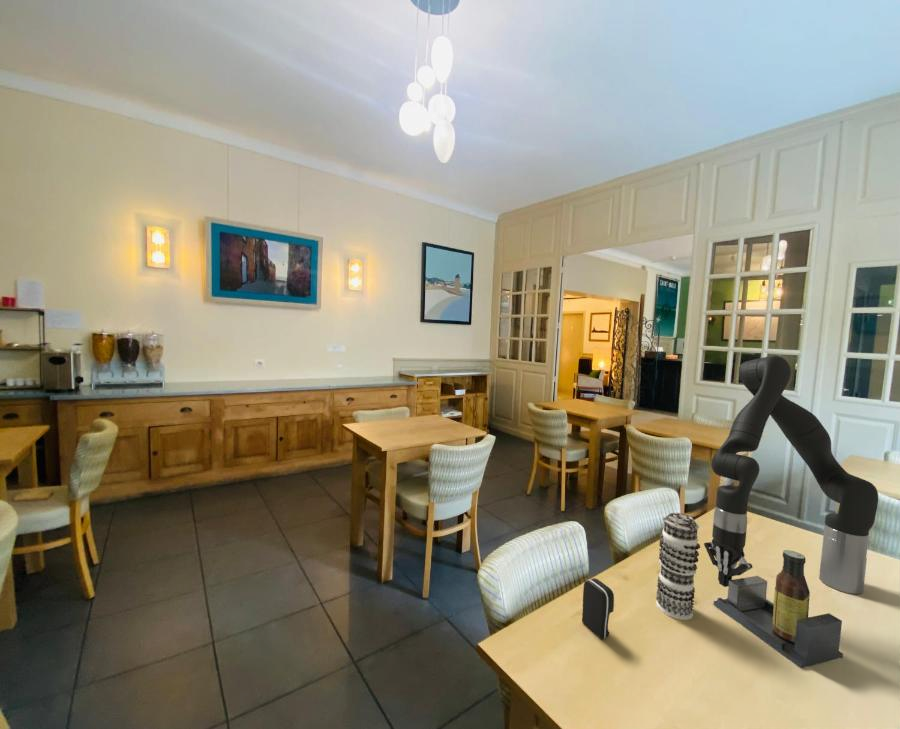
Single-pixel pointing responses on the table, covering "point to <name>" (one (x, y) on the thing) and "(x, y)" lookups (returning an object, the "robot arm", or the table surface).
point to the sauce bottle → (790, 596)
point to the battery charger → (597, 606)
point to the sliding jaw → (747, 593)
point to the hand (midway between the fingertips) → (724, 585)
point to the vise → (811, 641)
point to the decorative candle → (677, 566)
